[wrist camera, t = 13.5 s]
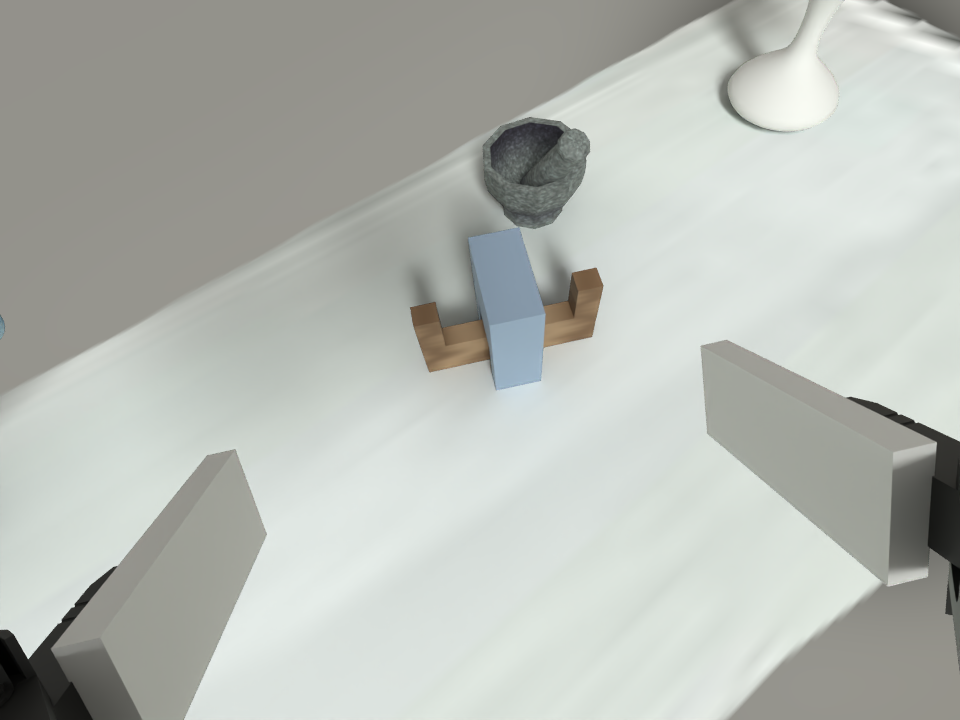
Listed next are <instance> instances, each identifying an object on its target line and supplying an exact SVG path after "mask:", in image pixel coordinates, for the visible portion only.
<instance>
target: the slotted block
mask: <svg viewBox="0 0 960 720" xmlns="http://www.w3.org/2000/svg"><path fill="white" fill-rule="evenodd" d="M468 243H469V250H470V257H471V265H472V272H473V280H474V287H475V295H476V302H477V309H478V316H479V320H483V324H484V328H485V333H486V337H487V341H488V345H489V351H490V359H491V368H492V375H493V379H494V383H495V387H496V390H499V389H504V388H509V387H513V386H518V385H523V384H527V383H532V382H537V381H541V373H542V358H543V344H544V330H545V315H546V314H545V310H544V307H543V304H542V300H541V297H540V294H539V291H538V287H537V284H536V281H535V278H534V274H533V271H532V268H531V265H530V261H529V258H528V255H527V251H526V248H525V245H524V242H523V238H522V235H521V232H520V229H519V227H518V228H513V229H508V230H503V231H499V232H494V233H489V234H484V235H479V236H474V237H469V238H468Z"/></svg>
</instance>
